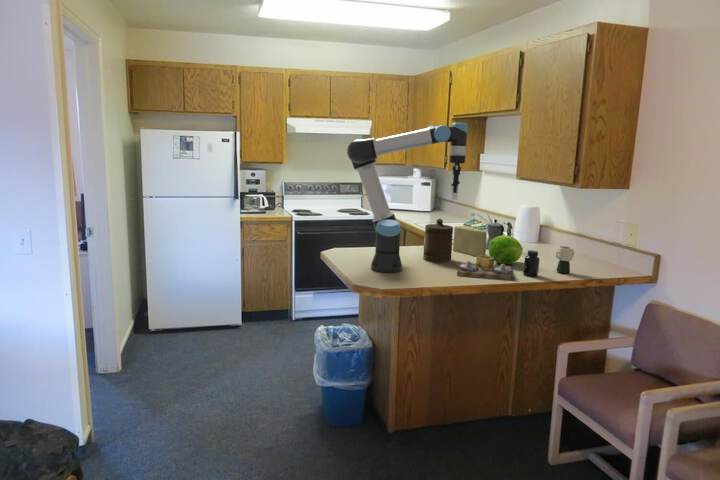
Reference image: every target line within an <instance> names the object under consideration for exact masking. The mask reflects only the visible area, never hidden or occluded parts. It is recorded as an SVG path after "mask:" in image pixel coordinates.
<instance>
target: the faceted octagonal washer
mask: <svg viewBox="0 0 720 480" xmlns="http://www.w3.org/2000/svg"><path fill="white" fill-rule="evenodd" d="M475 264H476V267H478V268H481V269H492V268H493V266H494V265H495V260H494V257H492V256H490V255H486V254H485V255H479V256H477V257H476V261H475Z"/></svg>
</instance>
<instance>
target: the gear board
mask: <svg viewBox="0 0 720 480" xmlns="http://www.w3.org/2000/svg"><path fill="white" fill-rule="evenodd" d="M456 272H457V273H456V276H459V277H468V278H469V277H470V278H479V277H480V278H481V279H482V278H483V279H490V278H491V279H493V280H505V281H515V275H514V269H512V267H511V266H510V265H506V264H500V265H497V264H494V266H493V268H492V269H481V268H478V267H476V262H475V263H472V262H471V261H469V260H468V261H466V262H463V261H462V262H461V261H460V262H459V261H457V269H456Z"/></svg>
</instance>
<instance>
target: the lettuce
mask: <svg viewBox="0 0 720 480" xmlns="http://www.w3.org/2000/svg"><path fill="white" fill-rule="evenodd" d="M487 251H488V254H489V255H488V256H492V257H494V262H496V263H498V264H500V265H501V264H504V265H511V264H513V263H515V262H517V261H518V260H519V259H520V258H521V256H522V254H523V251H524V249H523V246H522V244H521V242H519V240H518V239H517V238H516V237H513V236H511V235H506V234H505V235H504V234H503V235H501V236H497V237H495V238H493V239H492V240H491V241H490V243H489V249H488V250H487Z"/></svg>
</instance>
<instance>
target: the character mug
mask: <svg viewBox="0 0 720 480" xmlns="http://www.w3.org/2000/svg"><path fill="white" fill-rule="evenodd" d="M574 257H575V250H574V247H572V246H566V245H559V246H558V248H557V251H556V253H555V258H556V259H557V260H559V261H558V263H557V266H556V267H557V268H556V272H559V273H560V274H561V273H563V274H569V273H570V272H571V271H570V270H571V264H570V262H572V260H573V258H574Z"/></svg>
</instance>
